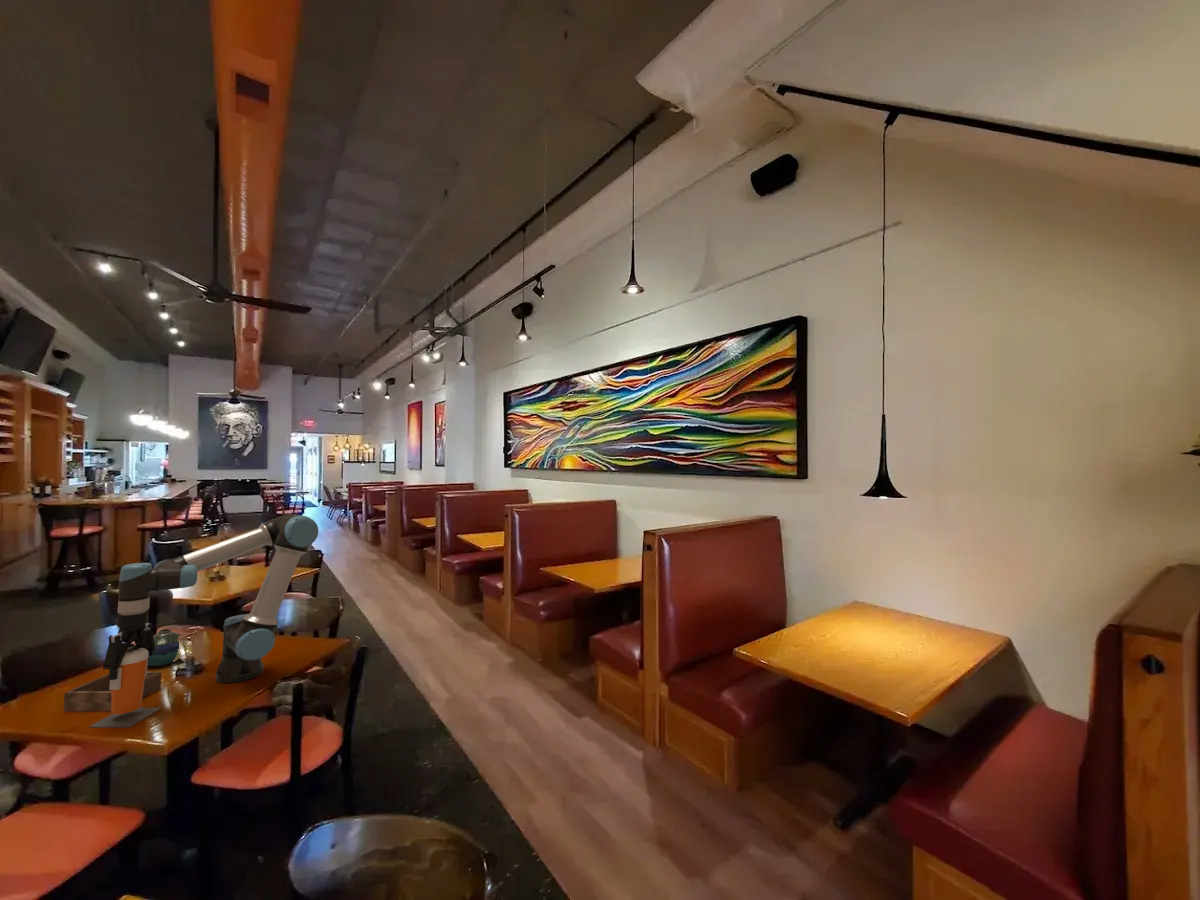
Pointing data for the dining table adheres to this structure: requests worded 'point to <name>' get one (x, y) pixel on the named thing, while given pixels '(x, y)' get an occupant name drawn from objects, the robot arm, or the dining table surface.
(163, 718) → the dining table surface
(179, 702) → the dining table surface
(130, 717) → the slate board
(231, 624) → the robot arm
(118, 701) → the shaker bottle
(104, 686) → the square wooden frame
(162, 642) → the vase
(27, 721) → the dining table surface
